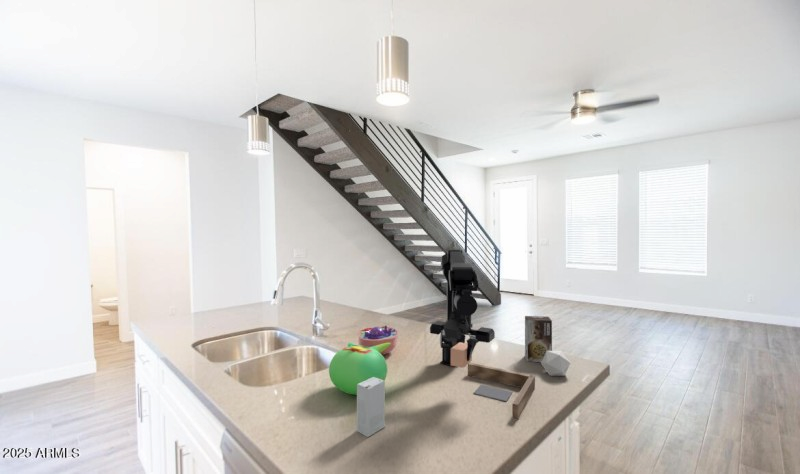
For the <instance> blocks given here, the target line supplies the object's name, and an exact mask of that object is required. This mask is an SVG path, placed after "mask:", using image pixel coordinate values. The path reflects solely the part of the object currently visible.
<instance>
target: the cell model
mask: <svg viewBox="0 0 800 474" xmlns="http://www.w3.org/2000/svg"><path fill="white" fill-rule="evenodd" d="M357 335H358V346H367V347H373V346H376V345H380V344H384V343H391V345H390V346H389V347H387V348H386V349H385V350H383V351H382V352H381V353H380V354H381V355H382V356H383V355H385V354H388V353H390V352H392V351H393V350H395V348H397V345H398V339H399V330H397V329H396V328H394V327H389V326H387V325H382V326H374V327H367V328H362V329H359V330H358V331H357Z"/></svg>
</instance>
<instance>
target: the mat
mask: <svg viewBox="0 0 800 474" xmlns="http://www.w3.org/2000/svg"><path fill="white" fill-rule="evenodd" d="M513 394H514V393H513V391H511V390H506V389H502V388H497V387H494V386H489V385H485V384H480V385H479V386H478V387H477V389H476V390H475V391H474V392H473V395H477V396H481V397H485V398H489V399H493V400H498V401H501V402H505V403H507V402H508V401H509V399H510V398H511V396H512V395H513Z"/></svg>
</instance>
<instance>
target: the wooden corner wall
mask: <svg viewBox="0 0 800 474" xmlns="http://www.w3.org/2000/svg"><path fill="white" fill-rule="evenodd" d="M467 376H468V377H473V378H475V379H476V378H477V379H481V380H484V381H485V380H486V381H490V382H496V383H500V384H504V385H508V386H513V387H517V388H521V389H520V390H519V392H518V393H517V395H516V397H515V399H514V400H513V402H512V409H511V410H512V413H511V414H512V415H511V416H512V418H511V419H513V420H517V421H518V420H519V419H520V417H521V415H522V414H523V412H524V410H525V408H526V406H527V404H528V402H529V400H530V399H531V397H532V396H533V393H534V391H535V390H536V376H535V375H533V374H528V373H522V372H519V371H512V370H507V369H502V368H499V367H493V366H488V365H483V364H478V363H472V362H470V363H468V364H467Z"/></svg>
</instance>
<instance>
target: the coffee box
mask: <svg viewBox="0 0 800 474" xmlns="http://www.w3.org/2000/svg"><path fill="white" fill-rule="evenodd" d="M546 351H553V320H552V319H551V318H550V317H549V316H544V315H543V316H542V315H541V316H539V315H537V316H536V315H533V316H532V315H525V316H524V357H525V359H526V362H533V363H534V362H537V363H541V362H542V360H543V358H544V356H545V353H546Z"/></svg>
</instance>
